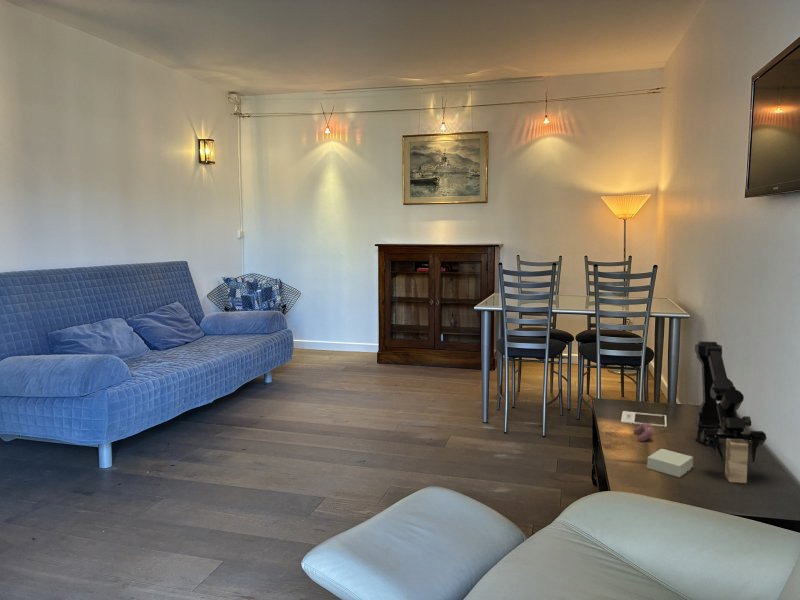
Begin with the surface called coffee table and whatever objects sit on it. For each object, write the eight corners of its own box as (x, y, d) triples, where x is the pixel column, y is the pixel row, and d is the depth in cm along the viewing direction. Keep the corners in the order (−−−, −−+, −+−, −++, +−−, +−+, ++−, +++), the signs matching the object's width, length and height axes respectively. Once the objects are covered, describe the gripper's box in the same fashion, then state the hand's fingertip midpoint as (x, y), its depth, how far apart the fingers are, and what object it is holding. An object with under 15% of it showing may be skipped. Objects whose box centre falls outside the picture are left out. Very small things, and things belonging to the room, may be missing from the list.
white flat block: (661, 459, 208) (661, 448, 207) (692, 467, 199) (693, 456, 199) (647, 468, 200) (647, 457, 200) (679, 477, 192) (679, 466, 192)
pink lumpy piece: (648, 446, 224) (657, 431, 223) (637, 440, 225) (646, 425, 223) (642, 437, 234) (651, 422, 232) (632, 431, 234) (640, 417, 233)
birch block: (724, 475, 193) (726, 438, 191) (741, 476, 191) (743, 439, 190) (729, 481, 188) (731, 444, 186) (746, 483, 187) (748, 445, 185)
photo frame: (622, 410, 261) (666, 414, 253) (622, 413, 261) (666, 417, 253) (620, 420, 247) (666, 425, 240) (620, 423, 247) (666, 428, 240)
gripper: (703, 405, 193) (712, 448, 184) (765, 408, 189) (777, 452, 179) (697, 420, 202) (704, 462, 192) (756, 423, 197) (766, 466, 188)
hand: (737, 460), depth 188 cm, fingers open, 9 cm apart
